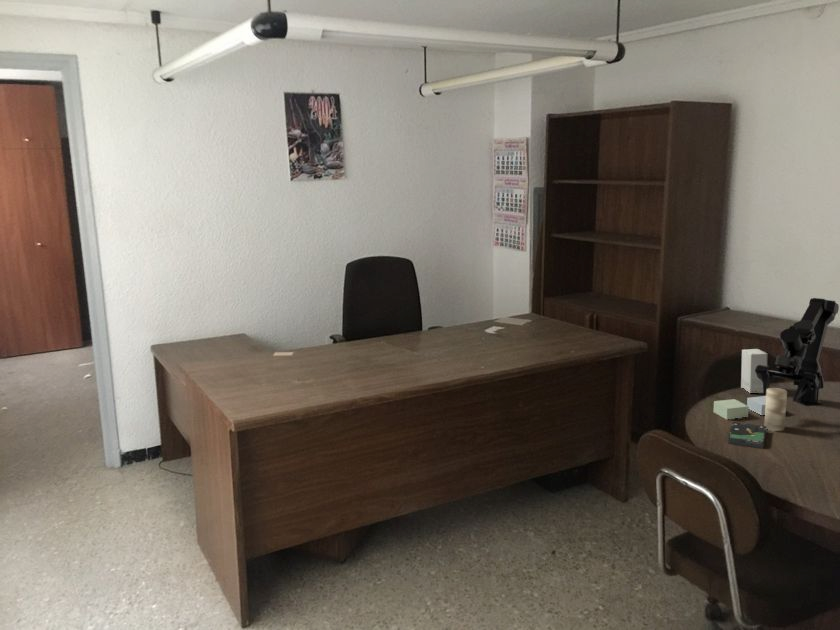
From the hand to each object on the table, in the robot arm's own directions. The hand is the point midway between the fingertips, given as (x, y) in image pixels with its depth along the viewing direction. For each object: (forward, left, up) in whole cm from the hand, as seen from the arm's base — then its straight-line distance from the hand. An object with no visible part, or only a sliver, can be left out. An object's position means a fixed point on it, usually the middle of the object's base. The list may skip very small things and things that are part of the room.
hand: (778, 398), depth 233 cm
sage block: (+8, -14, -10) cm, 19 cm away
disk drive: (+15, +6, -10) cm, 19 cm away
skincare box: (-15, -35, -10) cm, 39 cm away
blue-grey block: (-5, -14, -10) cm, 17 cm away
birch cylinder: (+2, +1, -10) cm, 10 cm away
